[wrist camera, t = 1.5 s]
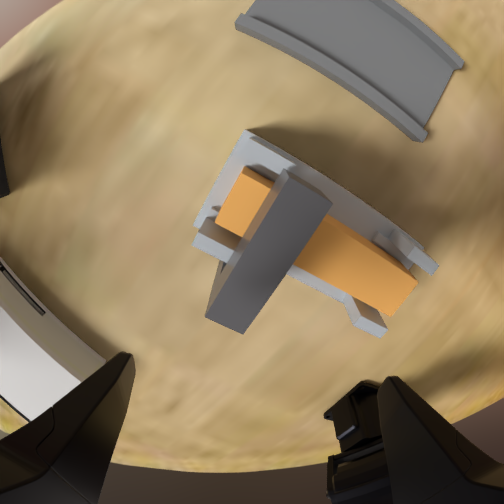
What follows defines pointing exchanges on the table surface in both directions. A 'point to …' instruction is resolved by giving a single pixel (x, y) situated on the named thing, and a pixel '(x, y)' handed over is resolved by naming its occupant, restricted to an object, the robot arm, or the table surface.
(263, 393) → the table surface
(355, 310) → the cradle
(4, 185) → the ammunition clip
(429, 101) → the tray
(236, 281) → the gray block
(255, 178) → the orange block
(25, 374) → the disc drive
